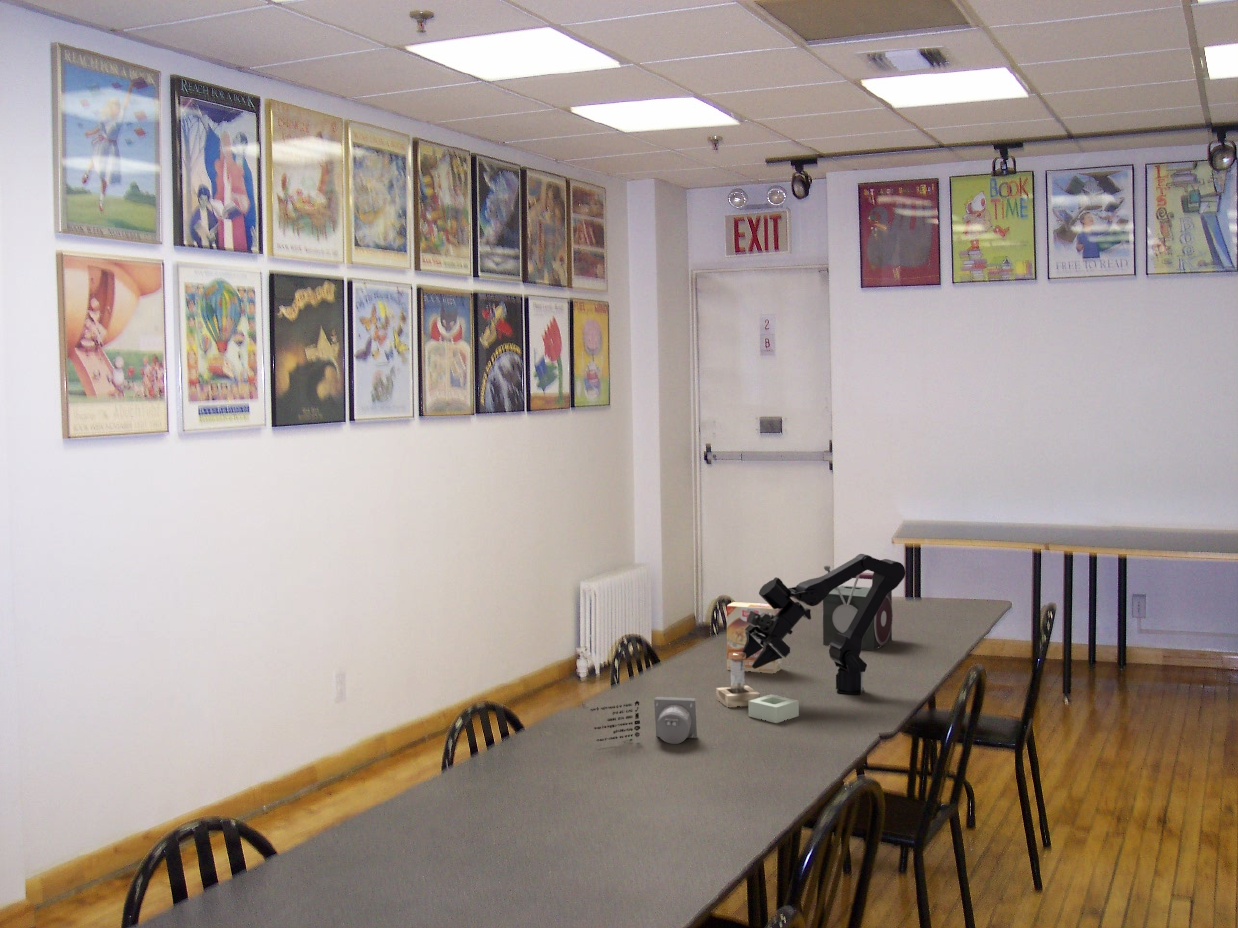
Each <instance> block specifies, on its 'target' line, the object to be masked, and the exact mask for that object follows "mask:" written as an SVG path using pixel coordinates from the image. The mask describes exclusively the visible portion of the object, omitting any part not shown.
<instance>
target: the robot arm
mask: <svg viewBox="0 0 1238 928" xmlns="http://www.w3.org/2000/svg"><path fill="white" fill-rule="evenodd" d="M865 571H866V572H867V571H868V572H869V571H870V572H872V573H873V578H872V579H871V580H872V583H871V586H870V587H871V588H870V587H869V588H870V590H869V592H868V594H867V595H866V597H865V599H864V601H863V602H862V604H861V606H860V608H859V610H858V611H857V613H856V615H855V617H854V618H853V620H852V622H851V624H850V625H849V627H848V629H847V630H846V631H845V632H844V633H843V634H840V633H836V634H835V636H834V639H833V641H832V642H831V643H830V644H829V645H830V646H829V649H828V654H829V657H830V659H831V660H832V661H833V662H834V665H835V667H837V668H838V669H837V673H836V675H835V690H836V694H846V695H847V694H848V695H862V693H863V691H864V687H863V686H864V685H863V682H864V681H863V680H864V679H863V673H865V672H866V670H867V667H868V664H867V663H866V662H865V661H864V660H863V659H862V658H861V657H860V655H861V652H862V650H863V649H862V639H863V637H864V635H865V633H866V632H867V630H868V628H869V626H870V625H871V623H872V621H873V619H874V617H875V616H876V614H877V612H878V610H879V609H880V607H881V605H882V603H883V601H884V600H885V598H886V596H887V595H888V593H890V592H891V591H893V590H895V589H896V588H898V586H899V585H900V584H901V582H902V581H903V580H904V579H905V577H906V574H907V571H906V569H905V566H904V564H903V563H902V562H899V561H895V560H893V559H888V558H884V559H878V558H875V557H872V556H871V555H869V554H865V553H859V554H857V555H856V556H855V557H853V558H852V559H849V561H846V562H845V563H843V564H841V565H839V566H837V567H836V568H834V569H833V570H830V572H829V573H828V572H827V573H826V574H824V575H822V576H819V577H816V578H815V577H814V578H810V579H807V580H804V581H801V582H799V583H797V585H795V586H793V587H787V586H786V585H785V584H784V582H783V581H782V580H781V578H779V577H774V578H773V579H771V580H769V581H768V582H767V583H764V584H763V585H762V587H760V589H759V591H758V594H759V596H760V597H761V598H762V599H763V600H764V601H765V602H766V604H769V605H770V606H771V607H772V608H773V609H777V608H778V609H780V610H779V611H778V613H777V614H776V615H775V616H774V615H768V614H766V613H762V614H761V615H760V614H757V613H755V612H753V611H750V614H749V616H748V618H747V622H749V623H751V625H748V627H747V628H746V629H745V631H746V632H745V634H746V638H747V641H746V644H745V646H744V648H743V651H742V652H744V653H746V659H747V658H749V657H750V656H752V655H753V654H755V653H756V652H758V651H760V650H761V649H763V650H762V652H761V653H760V654H759V656H758V657H757V659H756V660H755V662H754V663H753V665H752V667H753V668H754V669H756V668H758V667H760V666H763V665H765V664H767V663H770V662H772V661H775V660H777V659H781V660H782V659H783V658H787V657H788V655H790V653H791V648H790V646H789V645H788V644H787V643H786V642H785V641H784V639H785V637H786V636H787V635H792V633H794V631H793V628H794V627H795V626H796V625H797V624H798V623H799V622H800V620H801V619H802V618H805V619H807V620H809V621H810V620H811V619H812V616H811V615H812V614H811V611H812V610H811V609H810V608H808V607H806V608H805V607H804V606H803V605H802V604H805V605H807V606H810V607H815V606H818V605H819V604H820V603H821V602H823V600H824V599H825V598H826V597H827V596H828V594H829V593H830V592H831V591H832V590H833V589H835V588H836V587H840V586H843V585H844V584H846V582H849V581H850V580H852V579H855V578H854V577H856V576H857V575H859V574H861V573H865ZM793 599H794V600H796V601H794V600H793ZM801 603H802V604H801ZM758 626H759V627H758ZM761 645H762V646H763V647H762V646H761ZM744 660H745V659H744Z"/></svg>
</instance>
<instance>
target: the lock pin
mask: <svg viewBox="0 0 1238 928" xmlns="http://www.w3.org/2000/svg"><path fill="white" fill-rule="evenodd" d="M729 659H731V670H730V687H731V693H732V694H736V693H745V686H746V685H745V671H744V659H746V653H744V652H731V653H729Z"/></svg>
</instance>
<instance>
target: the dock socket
mask: <svg viewBox="0 0 1238 928" xmlns="http://www.w3.org/2000/svg"><path fill="white" fill-rule="evenodd" d="M799 701H800V700H797V699H794V698H788V697H784V696H780V695H776V694H771V693H770V694H768V695H764V696H760V698H757V699H753V700H750V701H748V706H747V707H748V717H750V718H753V719H757V720H761V719H762V721H765V720H766V721H765V722H770V723H774V724H779V723H782V722H784V720H785V721H788V720H790V719H793V718H797V717H800V715H799V714H800V713H799V711H800V709H799V706H800V703H799ZM787 719H788V720H787Z"/></svg>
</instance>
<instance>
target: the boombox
mask: <svg viewBox="0 0 1238 928" xmlns="http://www.w3.org/2000/svg"><path fill="white" fill-rule="evenodd" d="M823 569H824V571H826V572H827V573H829V572H831V565H829V564H824V566H823ZM873 573H874V572H872V573H870V572H862V573H861V574H859V575H857V576H856V577H854V578H853V579H855V580H854V582H853V583H854V584H853V585H851V586H850V585H840V586H838V587H836V588H835V589H833V590H832V591H831V592H830V593H829V594H828V596H827V597H826V598H825V599H824V600H823V601H822V613H821V614H822V616H821V618H822V619H821V621H822V639H823V640H822V643H823V644H822V645H823V646H828V645H829V644H830V643H831V642H832V641H833V639H834V636H835V634H836V633H840V634H843V633H844V632H845V631H846V630H847V629H848V627H849V625H850V624H851V622H852V620H853V618H854V617H855V615H856V613H857V611H858V610H859V608H860V606H861V604H862V602H863V601H864V599H865V597H866V595H867V594H868V592H869V590H870V588H871V586H870V587H867V586H866V587H864V586H857V585H858V583H859V582H858V581H859V580H860V579H861V580H872V578H873ZM892 591H893V590H892ZM892 591H891V592H890V593H888V595H887V596H886V598H885V600H884V601H883V603H882V605H881V607H880V609H879V610H878V612H877V614H876V616H875V617H874V619H873V621H872V623H871V625H870V626H869V628H868V630H867V632H866V633H865V635H864V637H863V639H862V650H864V649H865V651H866V650H867V651H875V650H877V649H879V648H881V647H882V645H883V646H884V644H885V645H886V644H888V643H890V642H892V641H893V638H892V637H893V634H892V633H893V632H892V631H893V630H892V629H893V616H894V615H893V606H892V605H893V603H892V602H893V599H892V598H893V597H892V596H893V593H892ZM880 646H881V647H880ZM878 647H879V648H878Z"/></svg>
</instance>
